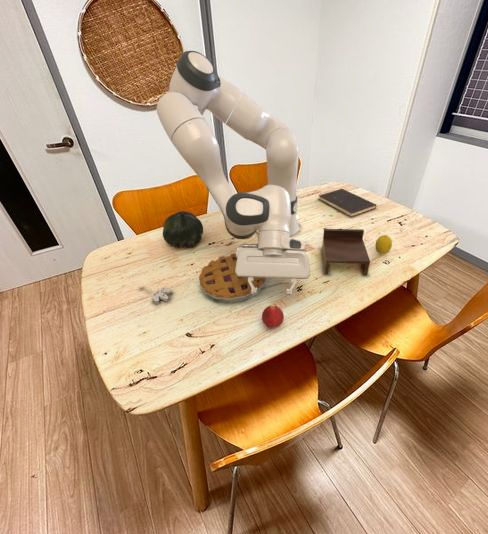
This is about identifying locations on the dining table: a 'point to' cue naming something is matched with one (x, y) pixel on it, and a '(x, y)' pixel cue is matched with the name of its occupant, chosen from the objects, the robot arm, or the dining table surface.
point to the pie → (227, 281)
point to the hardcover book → (347, 202)
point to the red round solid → (272, 316)
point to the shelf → (344, 248)
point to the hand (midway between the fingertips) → (271, 294)
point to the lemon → (383, 244)
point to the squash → (182, 230)
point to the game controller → (160, 295)
